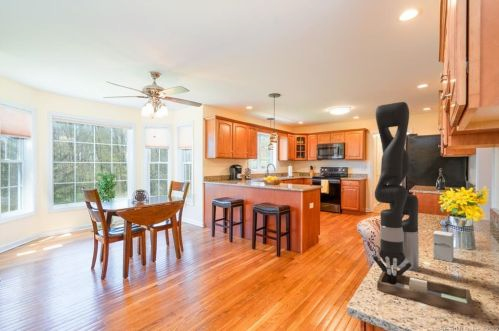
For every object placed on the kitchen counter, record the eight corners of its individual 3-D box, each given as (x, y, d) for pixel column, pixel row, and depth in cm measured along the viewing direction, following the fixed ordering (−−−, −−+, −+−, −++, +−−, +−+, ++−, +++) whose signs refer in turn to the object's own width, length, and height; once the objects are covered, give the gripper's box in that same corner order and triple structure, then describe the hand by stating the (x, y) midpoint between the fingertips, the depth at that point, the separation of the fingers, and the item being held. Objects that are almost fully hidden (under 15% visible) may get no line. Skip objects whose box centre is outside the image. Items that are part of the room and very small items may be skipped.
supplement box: (432, 258, 119) (432, 232, 119) (435, 254, 124) (434, 229, 124) (452, 262, 113) (451, 235, 113) (454, 258, 118) (453, 232, 118)
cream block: (409, 294, 85) (409, 282, 85) (410, 288, 89) (410, 277, 89) (426, 298, 82) (426, 286, 82) (427, 292, 86) (426, 281, 86)
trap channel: (377, 292, 88) (377, 282, 88) (383, 280, 97) (382, 270, 97) (474, 319, 72) (473, 306, 72) (469, 301, 82) (469, 289, 82)
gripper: (413, 238, 89) (414, 285, 89) (374, 232, 97) (374, 275, 97) (412, 243, 83) (413, 293, 83) (370, 237, 91) (370, 283, 91)
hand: (392, 284), depth 90 cm, fingers closed
